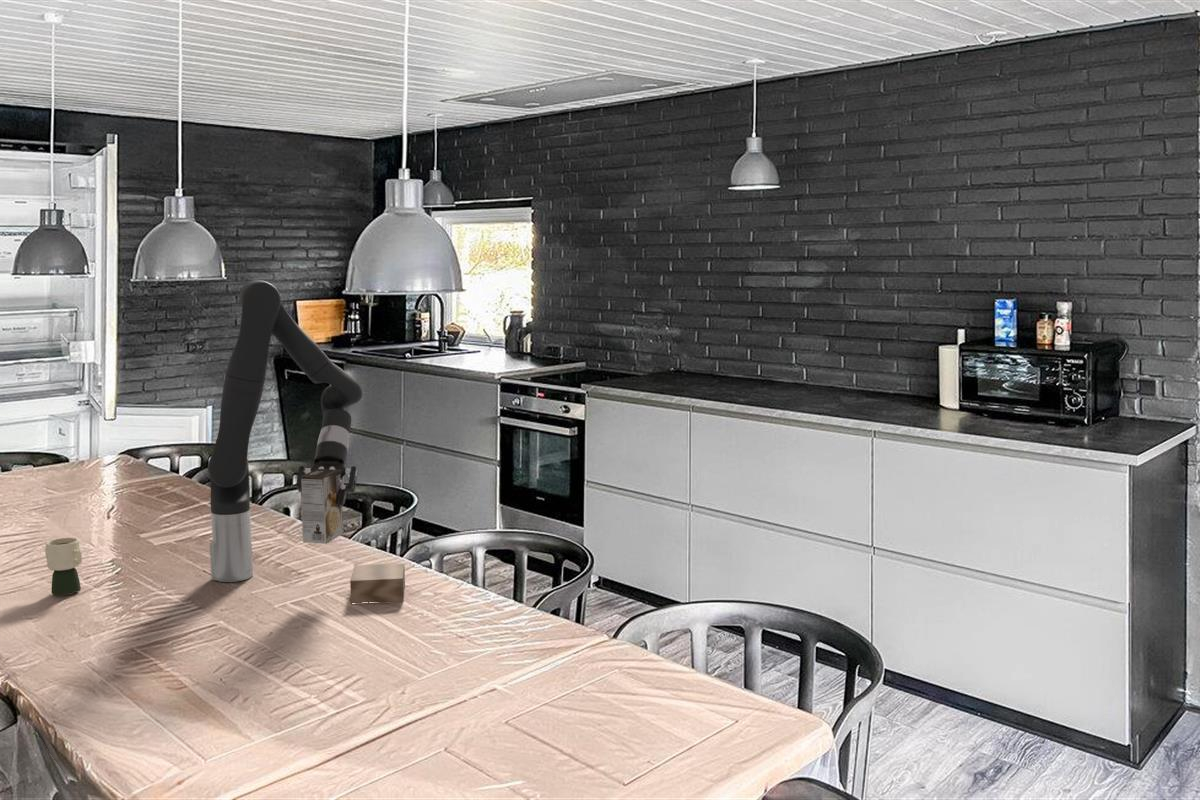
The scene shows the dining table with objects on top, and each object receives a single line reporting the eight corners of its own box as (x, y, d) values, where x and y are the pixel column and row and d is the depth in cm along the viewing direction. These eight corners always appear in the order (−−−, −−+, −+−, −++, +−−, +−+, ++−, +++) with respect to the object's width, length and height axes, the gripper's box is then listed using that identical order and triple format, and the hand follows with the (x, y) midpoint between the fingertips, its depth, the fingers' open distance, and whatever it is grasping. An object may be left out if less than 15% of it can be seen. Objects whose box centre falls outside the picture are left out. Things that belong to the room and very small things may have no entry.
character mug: (95, 591, 251) (92, 539, 249) (71, 600, 245) (67, 547, 243) (61, 586, 255) (57, 535, 253) (36, 595, 248) (32, 542, 247)
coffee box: (319, 532, 254) (317, 468, 252) (344, 533, 253) (342, 469, 251) (301, 542, 246) (299, 476, 243) (327, 544, 244) (324, 477, 242)
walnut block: (351, 605, 243) (350, 580, 242) (355, 589, 254) (354, 565, 254) (403, 603, 245) (402, 578, 244) (405, 586, 256) (404, 563, 255)
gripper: (300, 439, 254) (288, 497, 244) (359, 439, 255) (350, 497, 245) (306, 456, 260) (295, 513, 251) (363, 456, 261) (355, 513, 251)
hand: (322, 505), depth 248 cm, fingers closed on coffee box, 7 cm apart
